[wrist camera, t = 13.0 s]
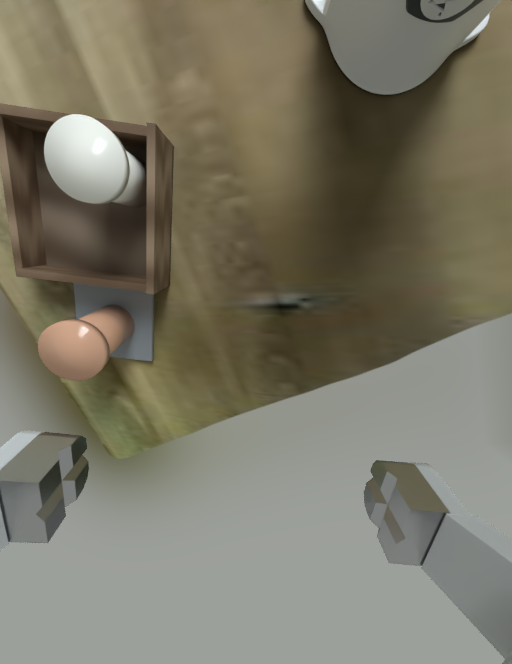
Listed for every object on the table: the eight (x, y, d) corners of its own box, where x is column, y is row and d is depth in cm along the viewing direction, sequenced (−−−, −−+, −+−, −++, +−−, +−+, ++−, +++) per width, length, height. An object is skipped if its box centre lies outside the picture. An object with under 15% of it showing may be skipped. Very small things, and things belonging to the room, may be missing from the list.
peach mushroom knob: (89, 297, 36) (34, 318, 27) (139, 303, 37) (103, 326, 27) (91, 343, 38) (41, 377, 29) (139, 348, 39) (105, 383, 29)
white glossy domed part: (102, 147, 31) (39, 108, 22) (160, 156, 32) (122, 121, 22) (105, 208, 33) (48, 197, 24) (159, 216, 34) (124, 207, 24)
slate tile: (76, 281, 37) (73, 282, 36) (154, 290, 37) (152, 291, 36) (82, 351, 40) (78, 353, 39) (153, 359, 40) (151, 361, 40)
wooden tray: (28, 124, 31) (-28, 95, 25) (173, 146, 32) (155, 123, 26) (44, 269, 36) (1, 276, 30) (169, 285, 37) (153, 294, 31)
